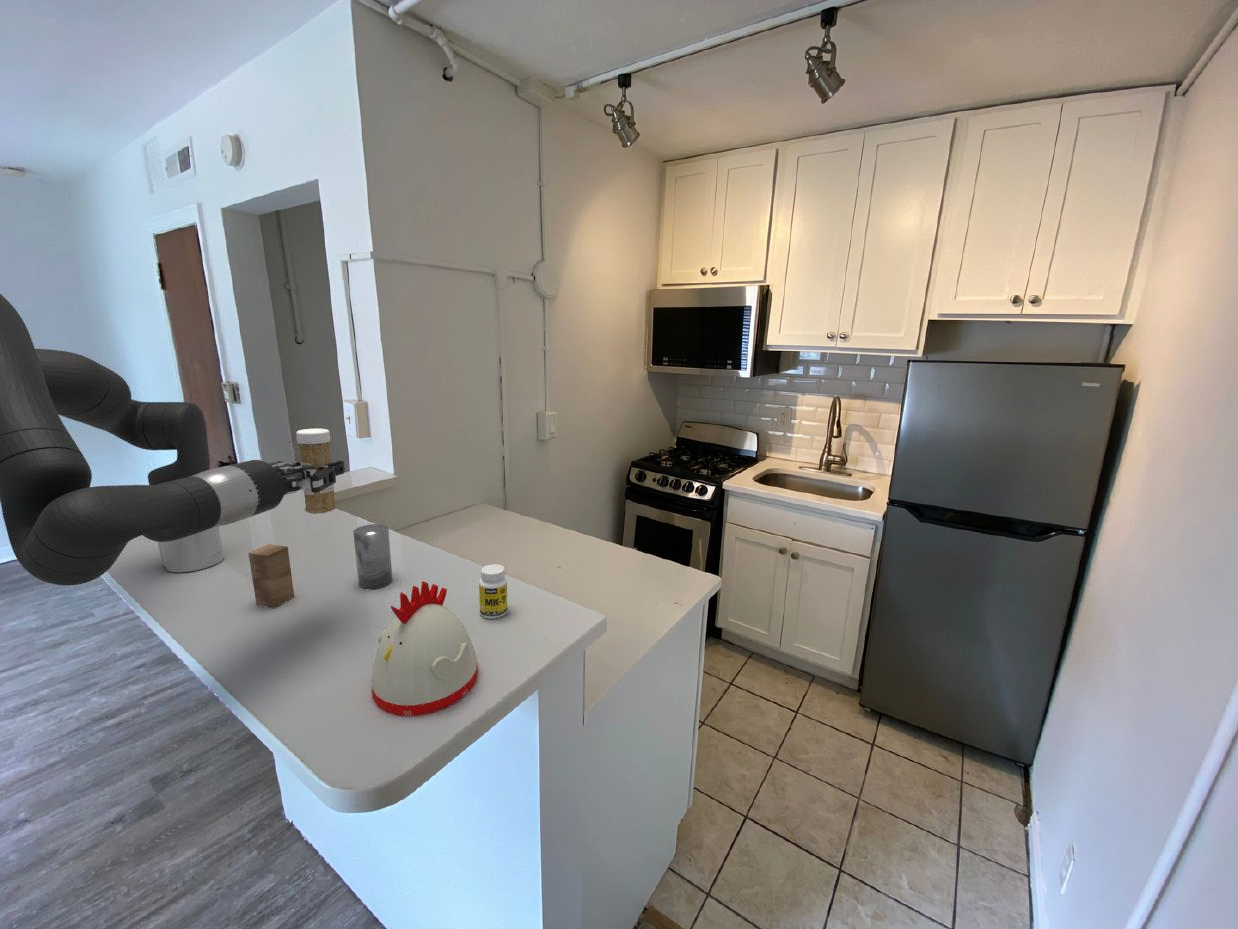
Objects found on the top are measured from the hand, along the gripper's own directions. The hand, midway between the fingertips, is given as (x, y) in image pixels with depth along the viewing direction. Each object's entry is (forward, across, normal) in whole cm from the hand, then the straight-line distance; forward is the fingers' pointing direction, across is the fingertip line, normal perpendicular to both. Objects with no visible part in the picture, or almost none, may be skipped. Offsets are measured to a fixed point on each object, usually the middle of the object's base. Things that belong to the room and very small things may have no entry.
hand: (329, 465), depth 83 cm
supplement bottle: (+5, -27, +26) cm, 38 cm away
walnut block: (-3, +12, +26) cm, 28 cm away
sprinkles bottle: (-3, 0, +7) cm, 8 cm away
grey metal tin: (+8, 0, +26) cm, 27 cm away
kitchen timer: (-14, -26, +26) cm, 40 cm away
